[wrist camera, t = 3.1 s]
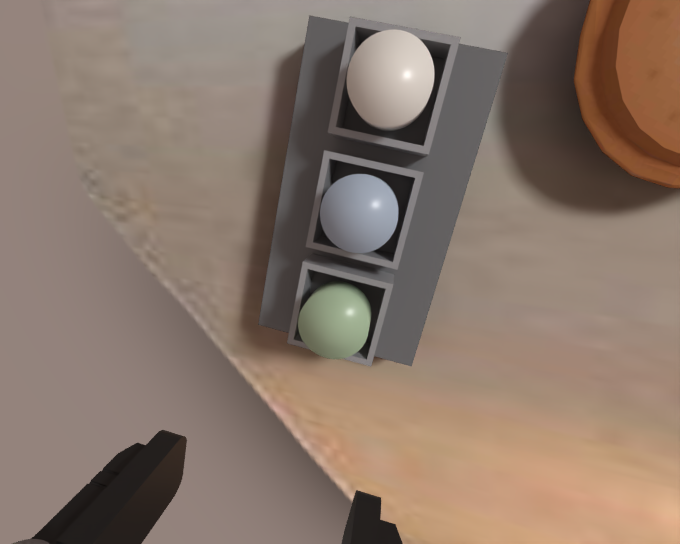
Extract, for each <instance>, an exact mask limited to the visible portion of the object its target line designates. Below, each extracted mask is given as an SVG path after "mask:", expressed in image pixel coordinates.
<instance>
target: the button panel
mask: <svg viewBox="0 0 680 544" xmlns="http://www.w3.org/2000/svg"><path fill="white" fill-rule="evenodd" d="M394 29H395V30H402V31H406V32H409V33H411V34H413V35H414V36H416V37H417V38H418V39H420V40H421V41H422V42H423V43H424V45H425V46H426V47H427V49H428V51H429V53H430V55H431V57H432V60H433V65H434V84H433V88H432V91H431V94H430V97H429V99H428V102H427V104H426V106H425V108H424V110H423V112H422V113H421V114H420V116H419V117H418V118H417V119H416V120H415V121H414V122H412V123H411V124H410V125H408V126H406V127H404V128H402V129H398V130H393V131H384V130H379V129H376V128H374V127H372V126H370V125H369V124H367V123H366V122H365V121H364V120H363V119H362V118H361V117H360V115H359V114H358V112H357V111H356V109H355V108H354V106H353V104H352V102H351V100H350V98H349V95H348V90H347V71H348V67H349V64H350V61H351V58H352V57H353V55H354V53H355V51H356V50H357V48H358V47H359V46H360V45H361V44H362V43H363V42H364V41H365V40H366V39H367V38H369V37H370V36H372V35H374V34H376V33H378V32H381V31H385V30H394ZM460 38H461V37H456V36H451V35H445V34H440V33H435V32H429V31H424V30H419V29H413V28H408V27H403V26H397V25H392V24H387V23H381V22H376V21H371V20H365V19H360V18H355V17H350V19H349V23H346V22H341V21H336V20H331V19H325V18H320V17H315V16H309V21H308V27H307V33H306V39H305V45H304V51H303V57H302V63H301V69H300V75H299V81H298V87H297V93H296V99H295V106H294V112H293V118H292V124H291V130H290V136H289V142H288V148H287V154H286V160H285V166H284V172H283V178H282V184H281V190H280V196H279V202H278V208H277V214H276V221H275V227H274V233H273V239H272V245H271V251H270V257H269V263H268V269H267V275H266V281H265V287H264V293H263V299H262V305H261V311H260V317H259V323H258V325H262V326H265V327H269V328H273V329H276V330H280V331H284V332H287V333H289V336H288V341H287V343H288V344H291V345H295V346H299V347H302V348H306V349H309V348H308V347H307V346H306V344H305V343H304V342H303V340H302V338H301V336H300V333H299V329H298V318H299V314H300V311H301V309H302V308H303V306H304V305H305V303H306V302H307V300H308V299H309V298H310V296H311V295H312V294H313V292H314V291H315V290H316V289H317V288H319V287H320V286H322V285H324V284H326V283H329V282H334V281H341V282H346V283H349V284H352V285H354V286H356V287H357V288H359V289H360V290H361V291H362V292H363V293H364V294H365V296H366V297H367V299H368V301H369V303H370V306H371V313H372V314H371V322H370V327H369V332H368V337H367V339H366V342H365V344H364V345H363V347H362V348H361V349H360V350H359V351H358V352H356V353H355V354H353V355H352V356H349V357H347V358H343V359H346V360H349V361H353V362H357V363H360V364H364V365H368V366H371V365H372V362H373V358H374V356H375V357H379V358H383V359H386V360H390V361H394V362H397V363H401V364H405V365H408V366H412V363H413V360H414V357H415V353H416V350H417V347H418V344H419V340H420V337H421V334H422V331H423V327H424V324H425V321H426V318H427V314H428V311H429V308H430V305H431V301H432V298H433V295H434V292H435V288H436V285H437V282H438V279H439V275H440V272H441V269H442V266H443V262H444V259H445V256H446V253H447V249H448V246H449V243H450V240H451V236H452V233H453V230H454V227H455V223H456V220H457V217H458V214H459V210H460V207H461V204H462V201H463V197H464V194H465V191H466V188H467V184H468V181H469V178H470V175H471V171H472V168H473V165H474V162H475V158H476V155H477V152H478V149H479V145H480V142H481V139H482V136H483V132H484V129H485V126H486V123H487V119H488V116H489V113H490V110H491V106H492V103H493V100H494V97H495V93H496V90H497V87H498V84H499V80H500V77H501V74H502V71H503V67H504V64H505V61H506V58H507V54H508V53H505V52H500V51H495V50H489V49H484V48H479V47H474V46H468V45H463V44H459V42H460ZM353 174H368V175H372V176H376V177H378V178H380V179H382V180H383V181H385V182H386V183H387V184H388V185H389V186H390V187H391V189H392V190H393V192H394V194H395V196H396V198H397V202H398V221H397V225H396V228H395V231H394V233H393V234H392V236H391V237H390V239H389V240H388V241H387V242H386V243H385V244H384V245H382V246H381V247H380V248H378V249H376V250H373V251H371V252H367V253H352V252H348V251H345V250H343V249H341V248H339V247H337V246H336V245H335V244H334V243H332V242H331V240H330V239H329V238H328V237H327V235H326V234H325V232H324V230H323V227H322V224H321V220H320V208H321V203H322V200H323V197H324V195H325V193H326V192H327V190H328V189H329V188H330V187H331V186H332V185H333V184H334V183H335V182H336V181H338V180H339V179H341V178H343V177H346V176H349V175H353ZM309 350H310V349H309Z"/></svg>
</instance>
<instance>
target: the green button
mask: <svg viewBox="0 0 680 544" xmlns="http://www.w3.org/2000/svg"><path fill="white" fill-rule="evenodd" d="M371 314H372V313H371V306H370V303H369V301H368V299H367V297H366V296H365V294H364V293H363V292H362V291H361V290H360V289H359V288H357V287H356V286H354V285H352V284H349V283H346V282H341V281H334V282H329V283H326V284H324V285H322V286H320V287H319V288H317V289H316V290H315V291H314V292H313V294H312V295H311V296H310V298H309V299H308V300H307V302H306V303H305V305H304V306H303V308H302V309H301V311H300V314H299V318H298V329H299V333H300V336H301V338H302V340H303V342H304V343H305V344H306V346H307V347H308V348H309V349H310V350H312V351H313V352H314V353H316V354H317V355H320V356H322V357H325V358H329V359H343V358H347V357H349V356H352V355H353V354H355V353H356V352H358V351H359V350H360V349H361V348H362V347H363V345H364V344H365V342H366V339H367V337H368V332H369V327H370V322H371Z"/></svg>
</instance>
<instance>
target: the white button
mask: <svg viewBox="0 0 680 544" xmlns="http://www.w3.org/2000/svg"><path fill="white" fill-rule="evenodd" d="M433 84H434V65H433V60H432V57H431V55H430V53H429V51H428V49H427V47H426V46H425V45H424V43H423V42H422V41H421V40H420V39H418V38H417V37H416V36H414V35H413V34H411V33H409V32H406V31H402V30H395V29H394V30H385V31H381V32H378V33H376V34H374V35H372V36H370V37H369V38H367V39H366V40H365V41H364V42H363V43H362V44H361V45H360V46H359V47H358V48H357V50H356V51H355V53H354V55H353V57H352V58H351V61H350V64H349V67H348V71H347V90H348V95H349V98H350V100H351V102H352V104H353V106H354V108H355V109H356V111H357V112H358V114H359V115H360V117H361V118H362V119H363V120H364V121H365V122H366V123H367V124H369V125H370V126H372V127H374V128H376V129H379V130H384V131H393V130H398V129H402V128H404V127H406V126H408V125H410V124H411V123H412V122H414V121H415V120H416V119H417V118H418V117H419V116H420V114H421V113H422V112H423V110H424V108H425V106H426V104H427V102H428V99H429V97H430V94H431V91H432V88H433Z"/></svg>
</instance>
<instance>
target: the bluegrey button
mask: <svg viewBox="0 0 680 544" xmlns="http://www.w3.org/2000/svg"><path fill="white" fill-rule="evenodd" d="M320 220H321V224H322V227H323V230H324V232H325V234H326V235H327V237H328V238H329V239H330V240H331V242H332V243H334V244H335V245H336V246H337V247H339V248H341V249H343V250H345V251H348V252H352V253H367V252H371V251H373V250H376V249H378V248H380V247H381V246H382V245H384V244H385V243H386V242H387V241H388V240H389V239H390V237H391V236H392V234H393V233H394V231H395V228H396V225H397V221H398V202H397V198H396V196H395V194H394V192H393V190H392V189H391V187H390V186H389V185H388V184H387V183H386V182H385V181H383V180H382V179H380V178H378V177H376V176H372V175H368V174H353V175H349V176H346V177H343V178H341V179H339V180H338V181H336V182H335V183H334V184H333V185H332V186H331V187H330V188H329V189H328V190H327V192H326V193H325V195H324V197H323V200H322V203H321V208H320Z"/></svg>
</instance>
